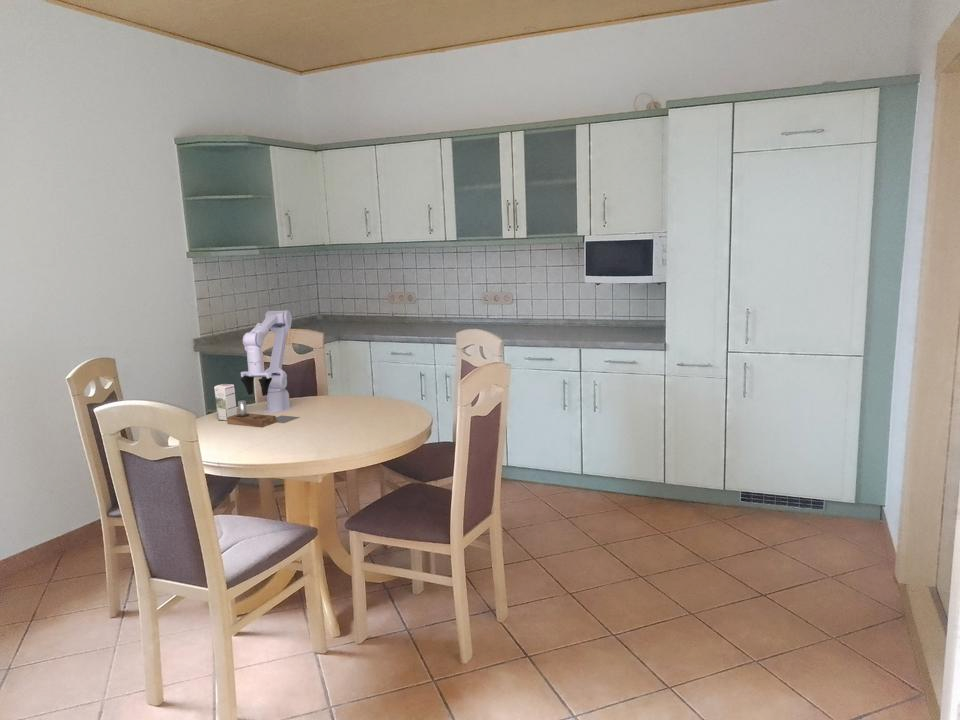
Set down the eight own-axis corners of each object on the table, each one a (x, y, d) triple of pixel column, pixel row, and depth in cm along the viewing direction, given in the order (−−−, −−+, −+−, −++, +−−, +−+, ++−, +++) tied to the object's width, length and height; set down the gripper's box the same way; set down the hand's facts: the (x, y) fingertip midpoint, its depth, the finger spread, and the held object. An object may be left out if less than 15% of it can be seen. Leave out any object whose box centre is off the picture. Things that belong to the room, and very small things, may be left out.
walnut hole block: (242, 419, 288) (241, 412, 288) (276, 423, 281) (275, 415, 280) (227, 424, 281) (227, 417, 281) (262, 428, 273) (261, 420, 273)
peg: (244, 421, 285) (242, 400, 284) (249, 422, 283) (247, 400, 282) (238, 423, 283) (236, 401, 281) (242, 424, 281) (240, 402, 279)
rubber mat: (281, 416, 292) (281, 415, 292) (300, 417, 288) (300, 417, 288) (264, 422, 283) (264, 421, 283) (284, 423, 279) (284, 423, 279)
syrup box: (238, 418, 292) (234, 383, 289) (227, 421, 287) (224, 386, 284) (227, 417, 294) (224, 383, 292) (217, 420, 289) (213, 386, 286)
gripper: (234, 362, 283) (237, 395, 285) (261, 363, 277) (264, 397, 279) (246, 360, 290) (249, 392, 292) (274, 361, 283) (276, 394, 285)
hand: (257, 394), depth 286 cm, fingers open, 7 cm apart
